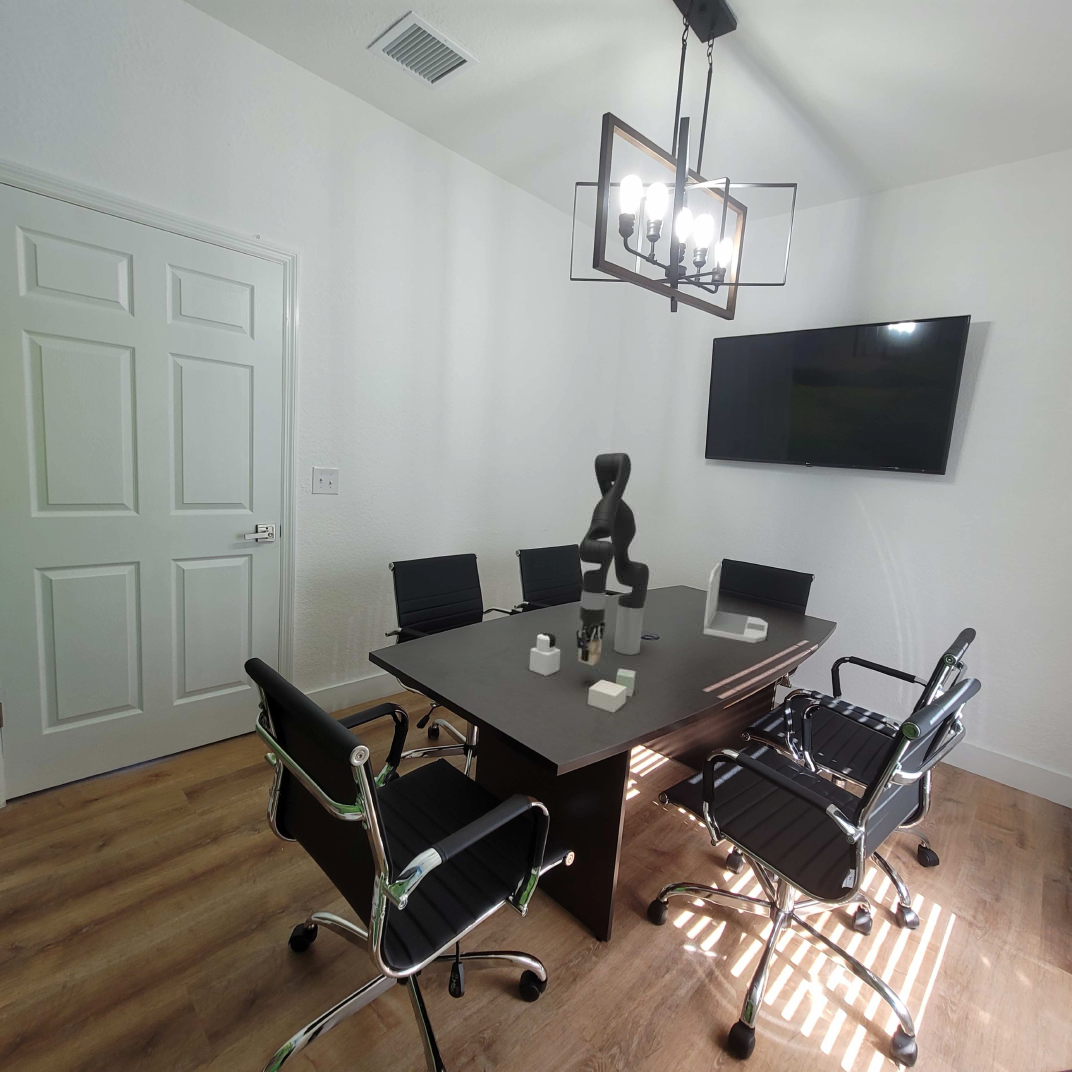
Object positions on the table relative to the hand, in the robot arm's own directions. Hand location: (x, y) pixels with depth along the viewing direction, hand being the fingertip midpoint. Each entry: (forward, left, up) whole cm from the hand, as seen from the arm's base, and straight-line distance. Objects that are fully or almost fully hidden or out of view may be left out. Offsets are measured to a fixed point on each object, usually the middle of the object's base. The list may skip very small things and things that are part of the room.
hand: (589, 657), depth 168 cm
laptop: (-98, +17, -9) cm, 99 cm away
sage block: (-3, +12, -8) cm, 14 cm away
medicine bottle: (+1, -15, -8) cm, 18 cm away
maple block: (0, 0, -1) cm, 1 cm away
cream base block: (+8, +12, -8) cm, 17 cm away
